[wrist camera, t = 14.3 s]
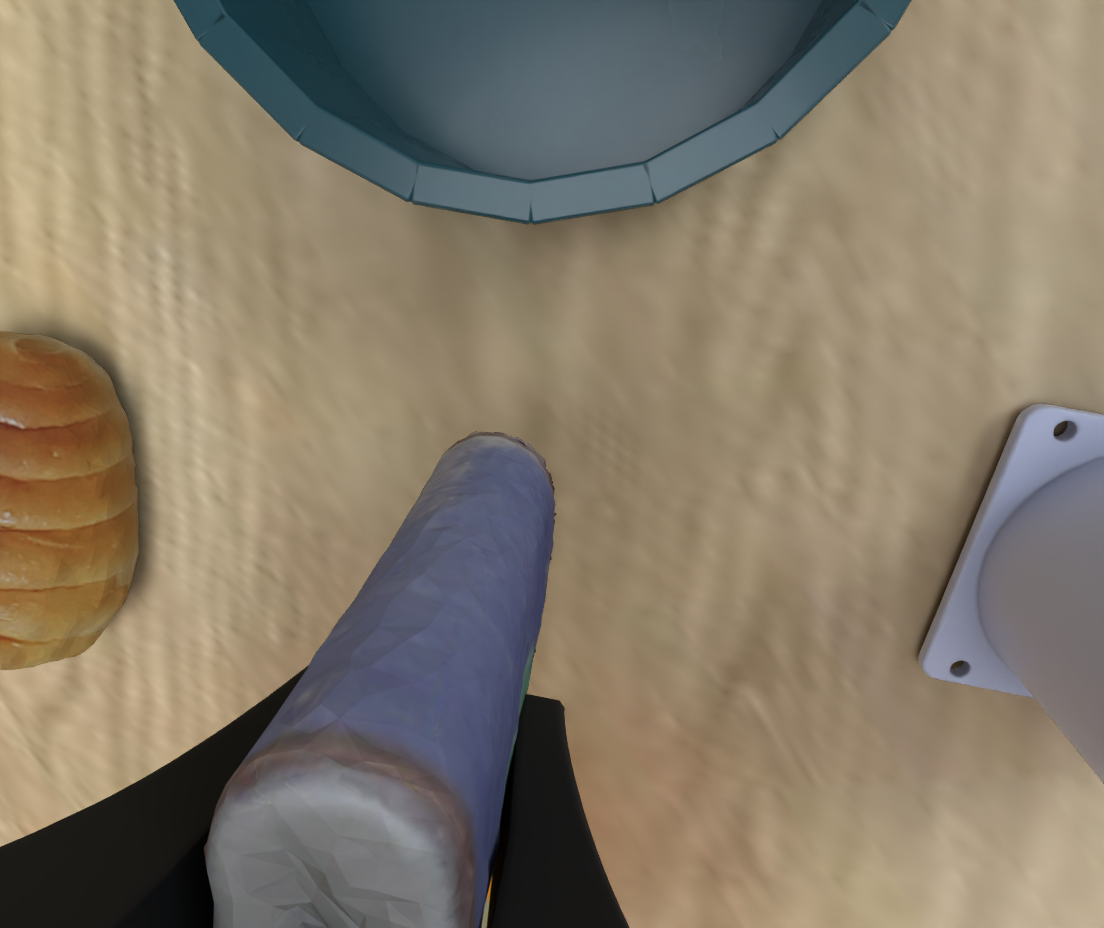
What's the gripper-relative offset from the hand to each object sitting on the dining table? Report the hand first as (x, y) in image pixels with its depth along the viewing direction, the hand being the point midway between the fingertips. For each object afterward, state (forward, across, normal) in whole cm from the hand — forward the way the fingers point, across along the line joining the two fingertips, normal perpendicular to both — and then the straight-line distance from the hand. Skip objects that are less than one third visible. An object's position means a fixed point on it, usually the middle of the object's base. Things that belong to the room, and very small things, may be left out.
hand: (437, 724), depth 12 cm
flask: (+4, 0, 0) cm, 4 cm away
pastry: (+9, +14, +2) cm, 17 cm away
